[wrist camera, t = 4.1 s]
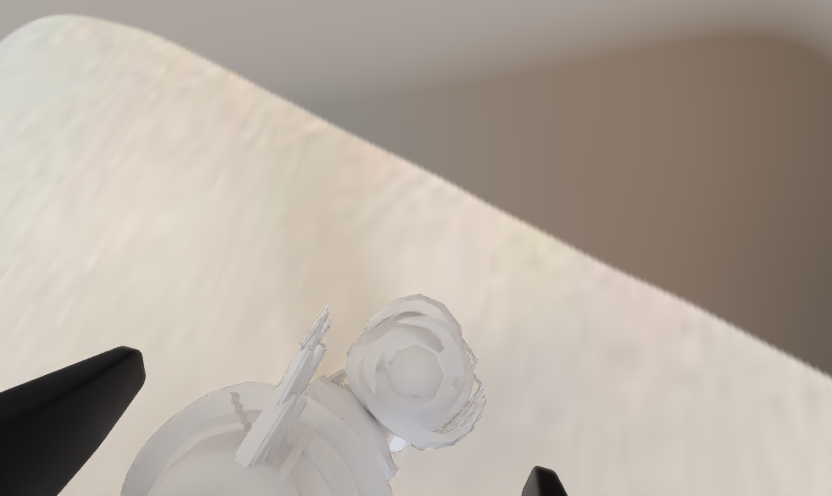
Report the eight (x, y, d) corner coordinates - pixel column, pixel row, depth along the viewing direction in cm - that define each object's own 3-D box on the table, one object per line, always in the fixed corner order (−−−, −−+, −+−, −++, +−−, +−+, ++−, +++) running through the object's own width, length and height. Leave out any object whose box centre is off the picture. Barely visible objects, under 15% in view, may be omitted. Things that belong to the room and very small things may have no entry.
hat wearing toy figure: (411, 317, 17) (386, 171, 5) (483, 396, 16) (638, 424, 4) (219, 491, 15) (-431, 831, 4) (287, 592, 14) (-297, 1477, 3)
